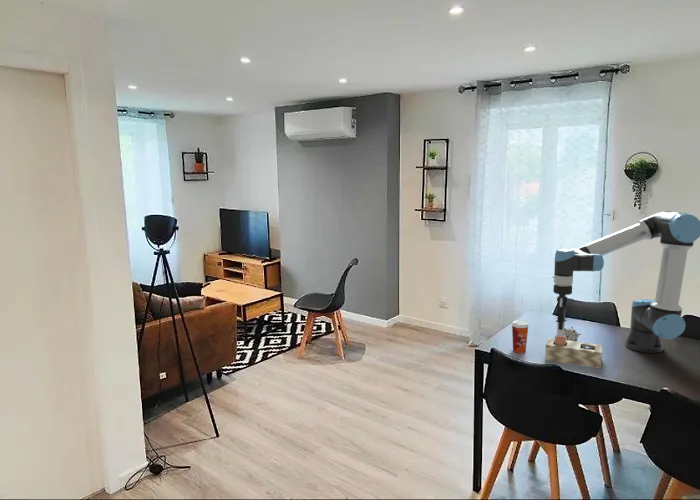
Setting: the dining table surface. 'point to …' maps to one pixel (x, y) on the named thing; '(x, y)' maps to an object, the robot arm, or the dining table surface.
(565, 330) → the spiked grey ball
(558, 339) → the terracotta button
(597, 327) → the dining table surface
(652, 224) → the robot arm
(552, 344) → the button box
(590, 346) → the charcoal button
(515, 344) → the paper cup
